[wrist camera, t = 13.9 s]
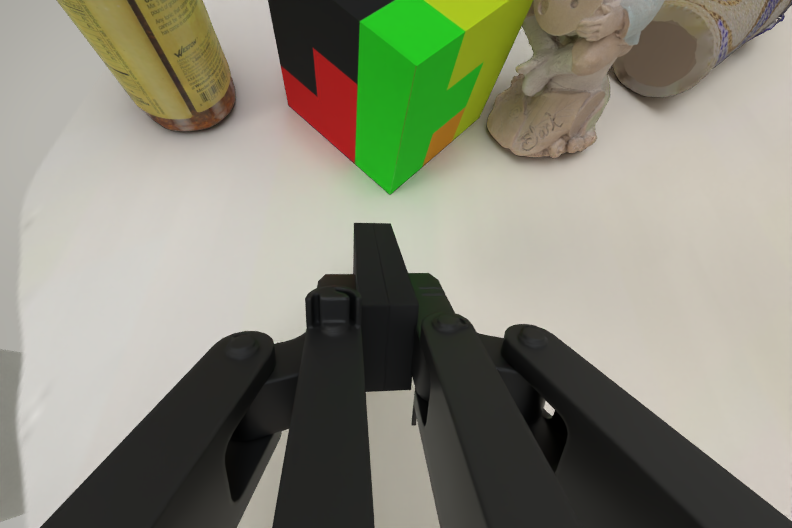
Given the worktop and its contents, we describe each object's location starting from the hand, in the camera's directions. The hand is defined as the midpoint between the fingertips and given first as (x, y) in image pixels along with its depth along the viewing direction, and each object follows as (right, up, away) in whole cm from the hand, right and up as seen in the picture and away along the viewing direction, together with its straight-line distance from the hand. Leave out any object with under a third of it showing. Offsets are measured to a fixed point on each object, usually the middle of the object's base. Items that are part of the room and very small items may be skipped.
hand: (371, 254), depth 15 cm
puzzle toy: (0, +11, +12) cm, 16 cm away
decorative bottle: (+30, +20, +20) cm, 41 cm away
